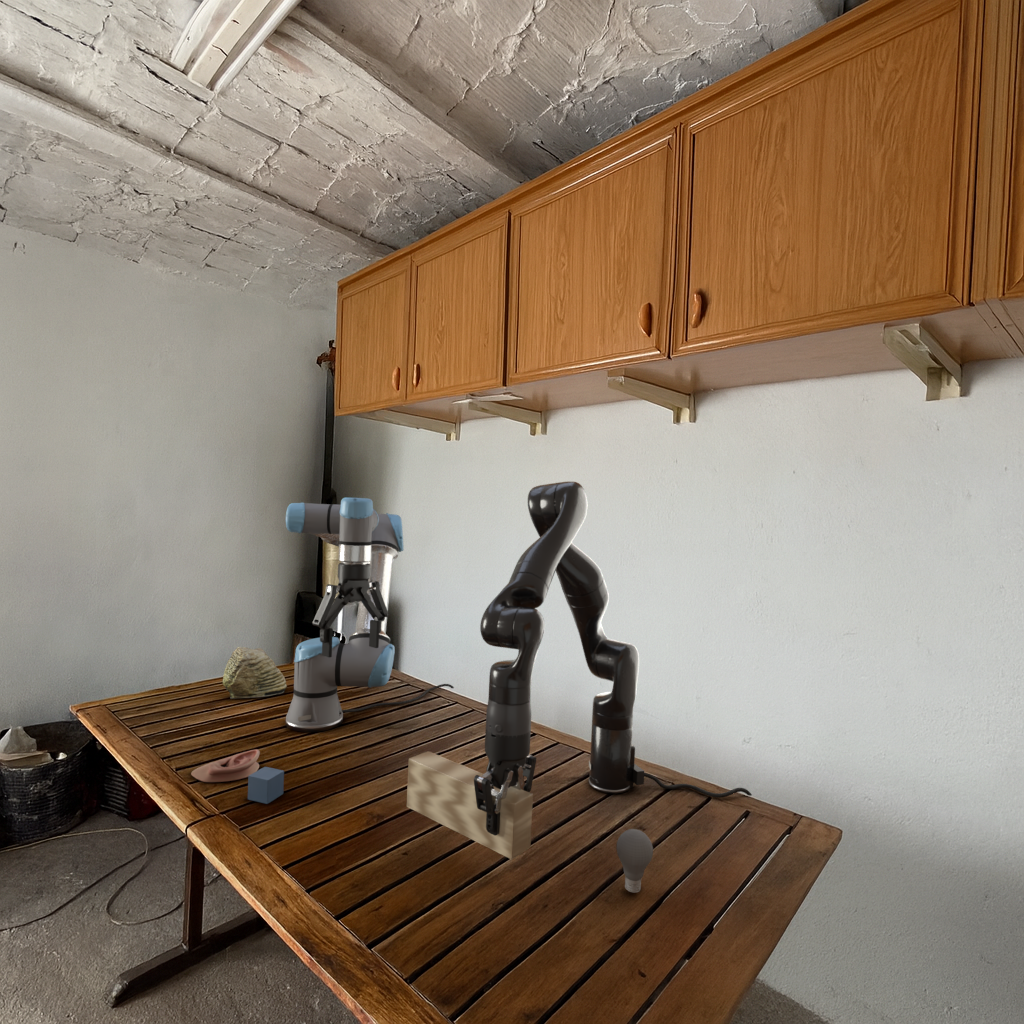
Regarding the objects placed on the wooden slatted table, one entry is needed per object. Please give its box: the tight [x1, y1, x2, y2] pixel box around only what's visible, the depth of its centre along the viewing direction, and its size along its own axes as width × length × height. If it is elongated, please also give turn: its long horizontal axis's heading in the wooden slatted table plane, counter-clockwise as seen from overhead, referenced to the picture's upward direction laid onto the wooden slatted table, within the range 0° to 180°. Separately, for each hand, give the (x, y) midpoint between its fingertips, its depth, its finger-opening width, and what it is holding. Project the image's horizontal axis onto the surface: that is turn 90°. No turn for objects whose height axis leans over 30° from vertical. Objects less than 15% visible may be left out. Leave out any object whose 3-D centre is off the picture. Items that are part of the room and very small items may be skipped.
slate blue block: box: [247, 766, 285, 805], centre depth 133 cm, size 5×5×5 cm
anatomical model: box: [190, 748, 261, 783], centre depth 143 cm, size 13×4×12 cm
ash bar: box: [406, 750, 534, 861], centre depth 111 cm, size 25×5×9 cm, turn 51°
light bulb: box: [615, 828, 654, 894], centre depth 106 cm, size 6×6×10 cm
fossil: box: [222, 646, 288, 699], centre depth 198 cm, size 9×18×15 cm, turn 132°
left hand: (351, 651), depth 151 cm, fingers open, 13 cm apart
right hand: (503, 826), depth 105 cm, fingers closed on ash bar, 5 cm apart
